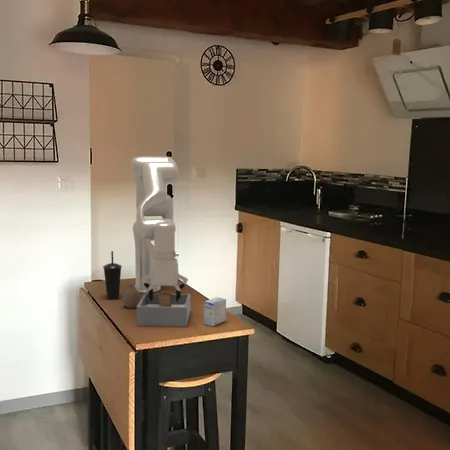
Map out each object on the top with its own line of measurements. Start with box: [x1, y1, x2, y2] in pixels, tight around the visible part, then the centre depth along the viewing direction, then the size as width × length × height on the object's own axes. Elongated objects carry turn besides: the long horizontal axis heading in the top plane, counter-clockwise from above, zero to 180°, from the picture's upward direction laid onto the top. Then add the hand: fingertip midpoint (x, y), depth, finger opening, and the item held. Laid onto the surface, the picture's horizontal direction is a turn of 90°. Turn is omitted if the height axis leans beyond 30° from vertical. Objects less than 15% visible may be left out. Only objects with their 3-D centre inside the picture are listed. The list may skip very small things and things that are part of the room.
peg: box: [158, 290, 172, 307], centre depth 211 cm, size 4×4×10 cm
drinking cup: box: [102, 251, 123, 300], centre depth 237 cm, size 8×8×20 cm
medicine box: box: [203, 296, 227, 327], centre depth 207 cm, size 8×4×9 cm, turn 145°
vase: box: [122, 284, 141, 309], centre depth 225 cm, size 7×7×9 cm
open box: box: [136, 292, 192, 328], centre depth 212 cm, size 18×18×7 cm
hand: (164, 300), depth 211 cm, fingers open, 9 cm apart
